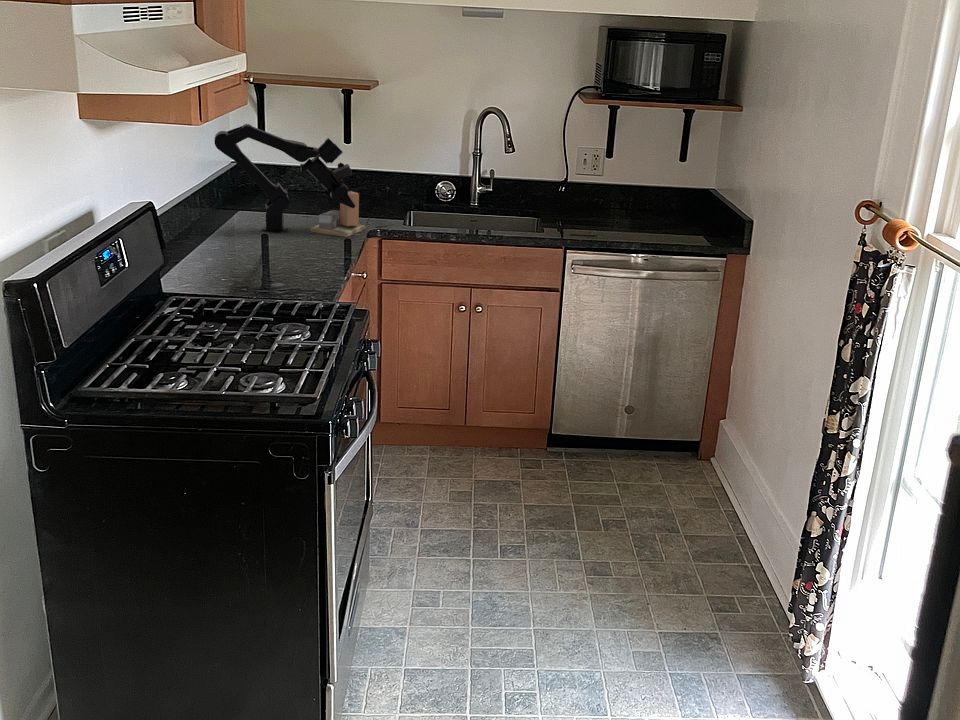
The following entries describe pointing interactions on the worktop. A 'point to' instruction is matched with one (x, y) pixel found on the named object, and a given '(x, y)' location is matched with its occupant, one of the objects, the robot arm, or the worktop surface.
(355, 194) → the terracotta block
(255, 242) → the worktop surface
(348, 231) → the maple board
